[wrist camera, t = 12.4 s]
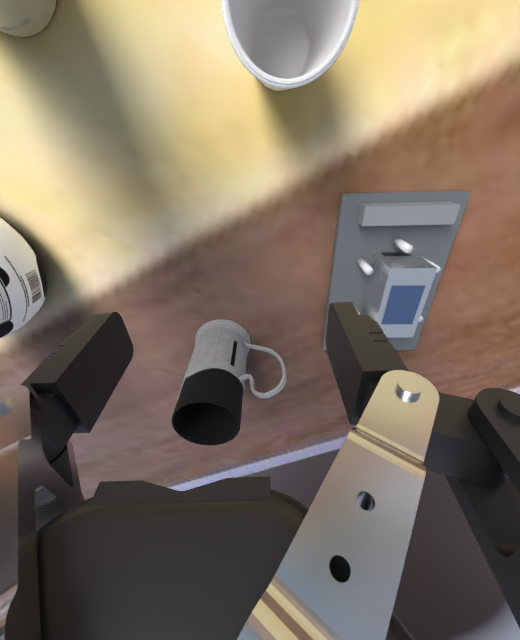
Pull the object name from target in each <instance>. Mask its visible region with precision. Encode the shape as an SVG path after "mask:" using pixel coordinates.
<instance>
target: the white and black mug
mask: <svg viewBox="0 0 520 640" xmlns="http://www.w3.org/2000/svg"><path fill="white" fill-rule="evenodd" d="M195 344H196V345H195V348H194V351H193V354H192V357H191V359H190V362H189V365H188V368H187V371H186V374H185V377H184V380H183V382H182V385H181V388H180V391H179V395H178V401H177V405H176V407H175V410H174V413H173V416H172V425H173V428H174V430H175V431H176V432H177V433H178V434H179V435H180V436H181V437H183V438H184V439H186V440H188V441H190V442H193V443H196V444H201V445H219V444H223V443H226V442H228V441H230V440H232V439H233V438H234V437H235V436H236V435H237V434H238V432H239V430H240V422H241V410H242V398H243V396H244V390H245V380H246V379H250V387H251V390H252V392H253V394H254V395H256V396H257V397H259V398H262V399H264V398H270V397H272V396H274V395H276V394H277V393H279V392H280V391H281V390H282V389H283V388H284V386H285V384H286V382H287V372H286V367H285V364H284V362H283V360H282V359H281V357H280V356H279V355H278V354H277V353H276V352H275V351H274V350H272V349H270V348H267V347H262V346H258V345H253V344H251V340H250V336H249V334H248V333H247V331H246V330H245V329H244V328H243V327H242V326H241V325H239V324H238V323H235V322H233V321H230V320H225V319H217V320H212V321H209V322H207V323H205V324H204V325H202V326H201V327H200V328H199V329H198V331H197V333H196V336H195ZM250 348H251V349H255V350H260V351H264V352H268V353H270V354H272V355H274V356H275V357H276V358H277V359H278V360H279V361H280V363H281V366H282V371H283V375H282V380H281V382H280V384H279V385H278V386H277V387H276V388H274V389H272V390H271V391H268V392H266V393H260V392H257V391H256V390H255V382H254V378H253V377H252V375H250V374H246V364H247V354H248V353H249V350H250Z"/></svg>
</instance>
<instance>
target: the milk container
mask: <svg viewBox="0 0 520 640" xmlns="http://www.w3.org/2000/svg"><path fill="white" fill-rule="evenodd" d="M46 289H47V280H46V276H45V272H44V269H43V266H42V264H41V261H40V260H39V258H38V256H37V255H36V253H35V252H34V250H33V249H32V247H31V246H30V244H29V243H28V242H27V240H26V239H25V238H24V237H23V236H22V235H21V234H20V233H19V232H18V231H17V230H16V229H15V228H13V227H12V226H11V225H10V224H9V223H8V222H7V221H5V220H4V219H3V218H1V217H0V338H2V337H4V336H7V335H9V334H11V333H13V332H15V331H16V330H18V329H20V328H21V327H22V326H24V325H25V324H26V323H27V322H29V321H30V320H31V319H32V318H33V316H34V315H35V314H36V313H37V312H38V311H39V309H40V308H41V306H42V305H43V303H44V300H45V296H46Z"/></svg>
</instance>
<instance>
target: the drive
mask: <svg viewBox="0 0 520 640" xmlns="http://www.w3.org/2000/svg"><path fill="white" fill-rule="evenodd" d="M370 266H371V267H372V269H373V273H372V274H371V275H367V279H366V283H365V288H364V292H363V297H362V302H361V306H360V311H359V313H360V315H364V314H367V315H368V316H369V317H371V318H372V319H374V320H375V321H376V322H378V324H379V326H380V327H381V329H382V330H383V333H384V334H385V335H386V336H387V338H404V337H413V336H414V333H415V330H416V327H417V325H418V322H419V319H420V316H421V313H422V311H423V308H424V305H425V302H426V299H427V297H428V294H429V291H430V288H431V286H432V283H433V280H434V277H435V274H436V272H437V269H438V268H437V267H435V266H434V265H432V264H431V263H429V262H428V261H426V260H425V259H423V258H422V257H420V256H419V255H417V254H415V253H414V252H410V253H405V252H372V255H371V260H370Z"/></svg>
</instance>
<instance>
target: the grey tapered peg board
mask: <svg viewBox="0 0 520 640" xmlns="http://www.w3.org/2000/svg"><path fill="white" fill-rule="evenodd" d="M470 194H471V191H467V190H446V191H404V192H363V193H340V199H339V208H338V216H337V224H336V232H335V240H334V248H333V256H332V264H331V273H330V281H329V289H328V297H327V305H326V313H325V321H324V329H323V337H322V350H323V351H327V348H326V330H327V321H328V312H329V305H330V303H335V302H352V303H353V305H354V307H355V308H356V310H357V312H358V314H359V315H360V313H359V311H360V306H361V302H362V297H363V292H364V288H365V283H366V279H367V275H371V274H372V273H373V269H372V267H371V266H370V260H371V255H372V252H405V253H410V252H414V253H415V254H417V255H419V256H420V257H422V258H423V259H425V260H426V261H428V262H429V263H431V264H432V265H434V266H435V267H437V268H438V269H437V272H436V274H435V277H434V280H433V283H432V286H431V288H430V291H429V294H428V297H427V299H426V302H425V305H424V308H423V311H422V313H421V316H420V319H419V322H418V325H417V327H416V330H415V333H414V336H413V337H404V338H388V341H389V342H390V343H391V344H392V346H393V347H394V349H395V350H415V348H416V345H417V342H418V339H419V336H420V334H421V331H422V328H423V325H424V322H425V320H426V317H427V314H428V311H429V308H430V306H431V303H432V300H433V297H434V294H435V292H436V289H437V286H438V283H439V280H440V278H441V275H442V272H443V269H444V266H445V264H446V261H447V258H448V255H449V252H450V250H451V247H452V244H453V241H454V239H455V236H456V233H457V230H458V227H459V225H460V222H461V219H462V216H463V213H464V211H465V208H466V205H467V202H468V199H469V197H470Z"/></svg>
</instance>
